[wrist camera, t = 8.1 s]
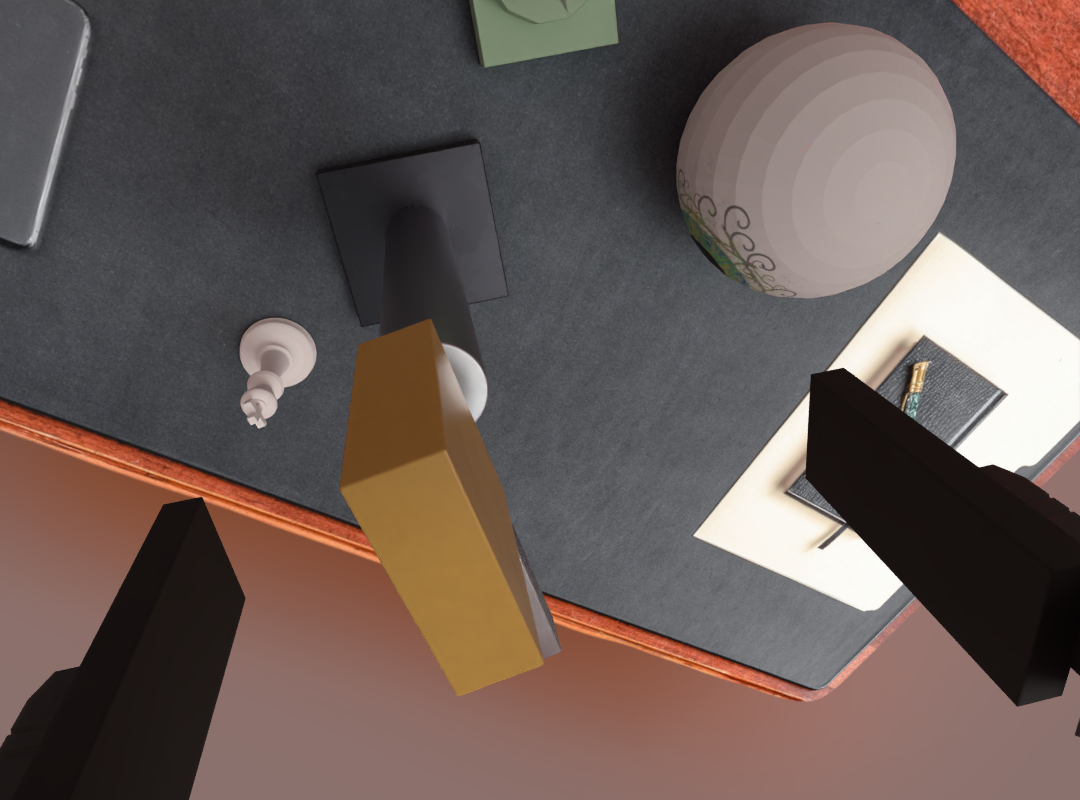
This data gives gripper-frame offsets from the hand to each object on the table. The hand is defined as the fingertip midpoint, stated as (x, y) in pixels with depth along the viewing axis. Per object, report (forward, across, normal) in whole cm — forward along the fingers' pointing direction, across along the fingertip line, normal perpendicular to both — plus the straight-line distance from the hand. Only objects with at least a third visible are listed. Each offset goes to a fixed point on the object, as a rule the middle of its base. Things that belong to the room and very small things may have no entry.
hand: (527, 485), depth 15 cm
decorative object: (+35, +21, -1) cm, 40 cm away
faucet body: (+34, -2, -2) cm, 35 cm away
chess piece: (+35, -13, -9) cm, 38 cm away
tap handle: (+10, -1, -7) cm, 12 cm away
